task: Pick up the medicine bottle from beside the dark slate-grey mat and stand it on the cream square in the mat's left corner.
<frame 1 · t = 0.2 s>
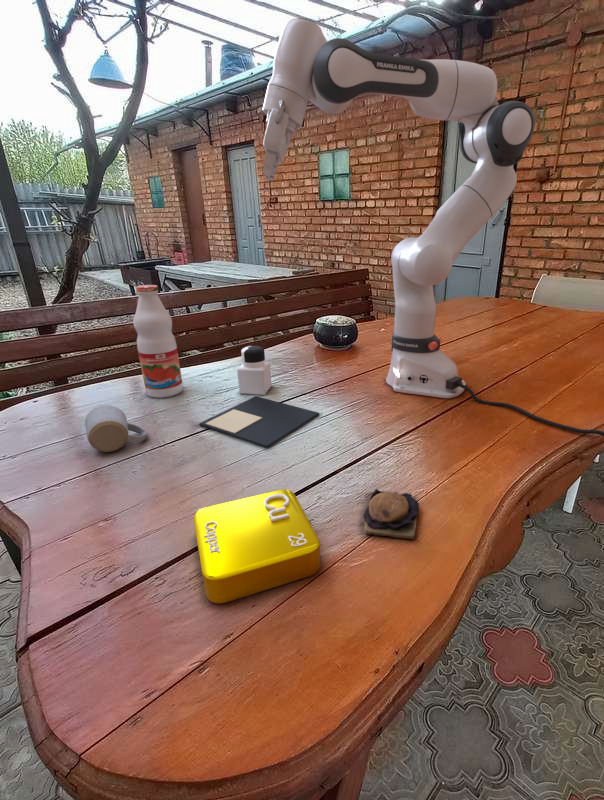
hand: (267, 178, 97), 52 cm above the table, tool tilted 20°, fingers open, 8 cm apart
mat: (260, 420, 99), on the table
fruit juice: (165, 392, 115), on the table
ceramic mug: (118, 444, 89), on the table
element tile: (256, 552, 60), on the table
brown layered stack: (391, 516, 67), on the table
medicine bottle: (256, 390, 117), on the table
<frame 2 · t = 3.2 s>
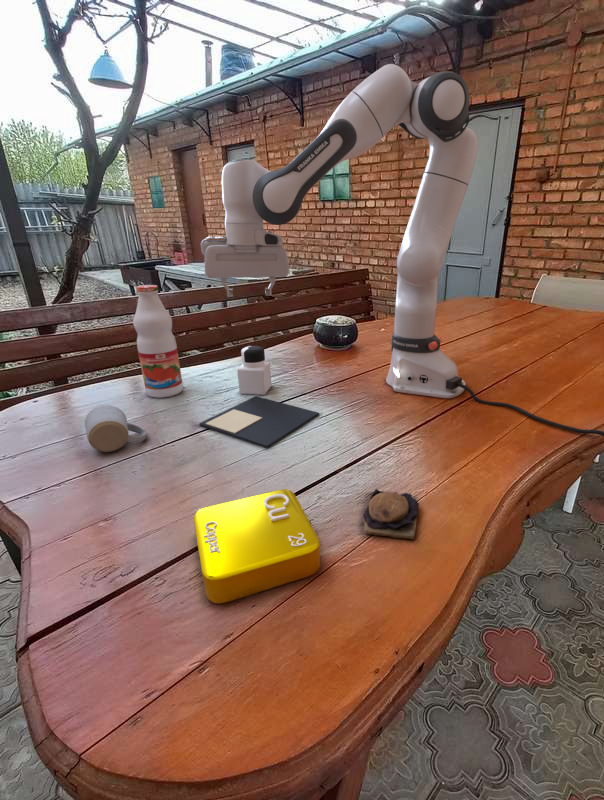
hand: (249, 295, 107), 25 cm above the table, tool pointing down, fingers open, 8 cm apart
nothing on the table moved.
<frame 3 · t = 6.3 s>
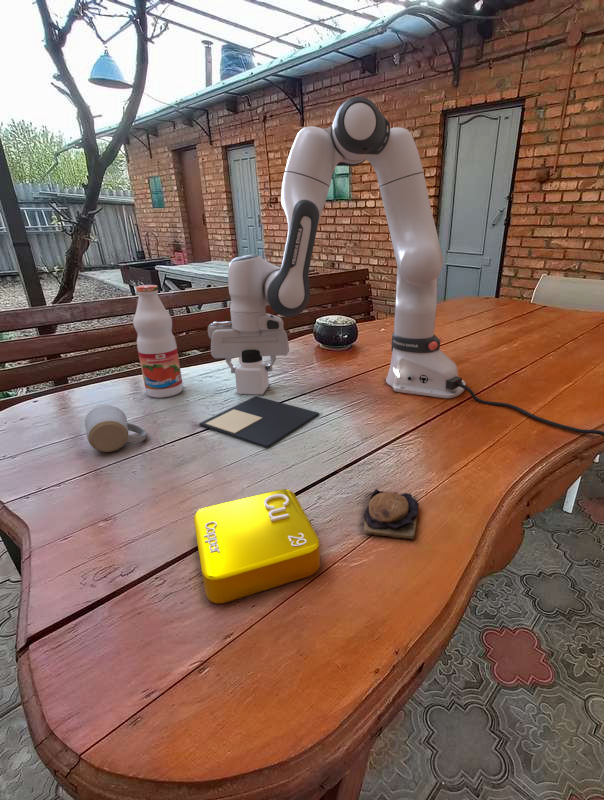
hand: (252, 371, 115), 5 cm above the table, tool pointing down, fingers closed on medicine bottle, 8 cm apart
medicine bottle: (253, 390, 117), on the table, touching gripper
everything else where it was.
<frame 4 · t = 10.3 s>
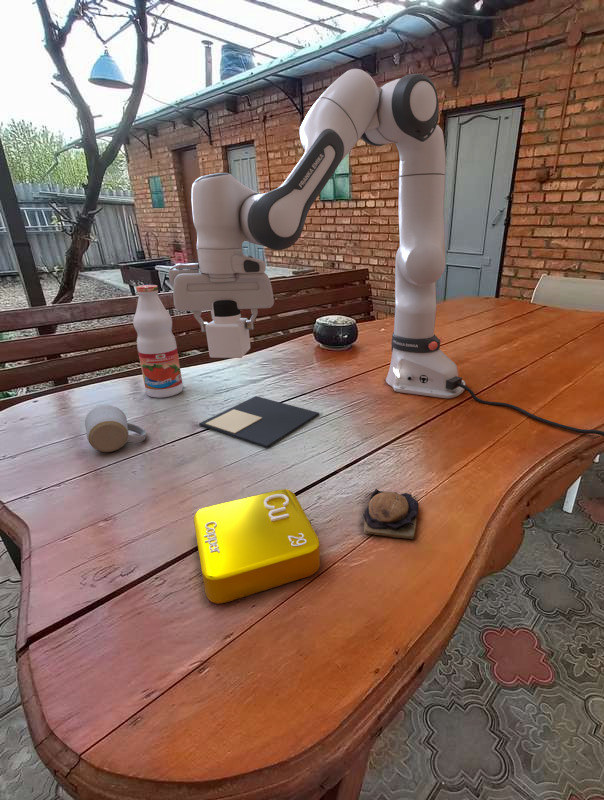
hand: (228, 330, 92), 21 cm above the table, tool pointing down, fingers closed on medicine bottle, 8 cm apart
medicine bottle: (230, 354, 94), point 16 cm above the table, touching gripper
everything else where it was.
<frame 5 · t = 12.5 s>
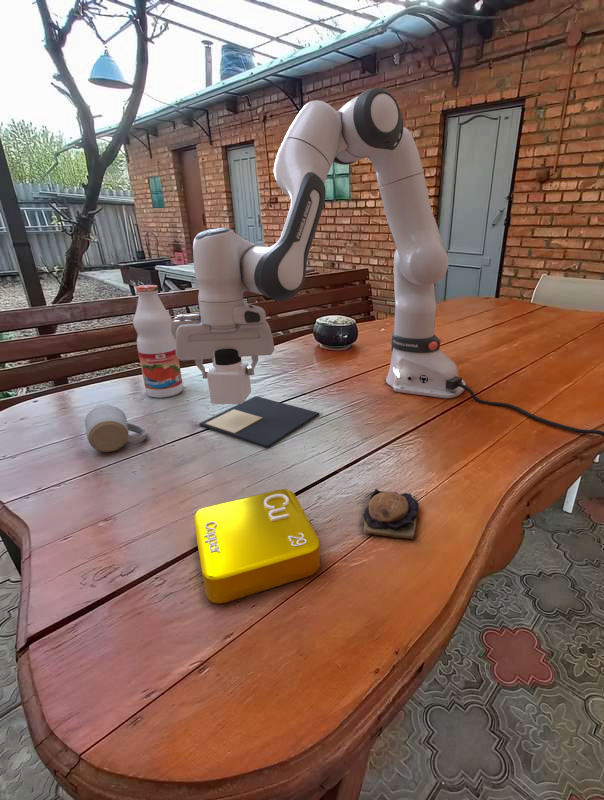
hand: (229, 376, 93), 12 cm above the table, tool pointing down, fingers closed on medicine bottle, 8 cm apart
medicine bottle: (231, 398, 95), point 6 cm above the table, touching gripper
everything else where it was.
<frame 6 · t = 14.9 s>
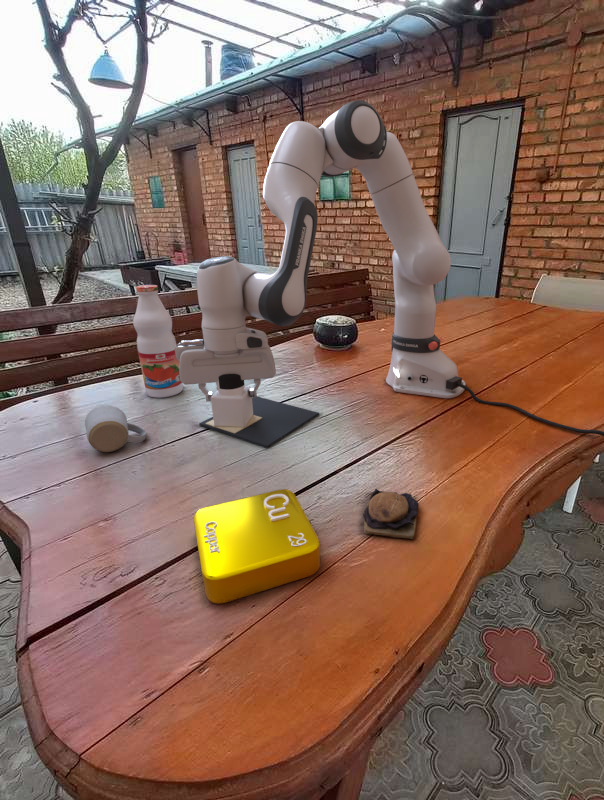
hand: (231, 398, 95), 6 cm above the table, tool pointing down, fingers closed on medicine bottle, 8 cm apart
medicine bottle: (234, 420, 97), point 1 cm above the table, touching gripper, mat
everything else where it was.
when the fingers open (6 cm above the table, at t = 14.9 s): medicine bottle stays where it is, resting on mat.
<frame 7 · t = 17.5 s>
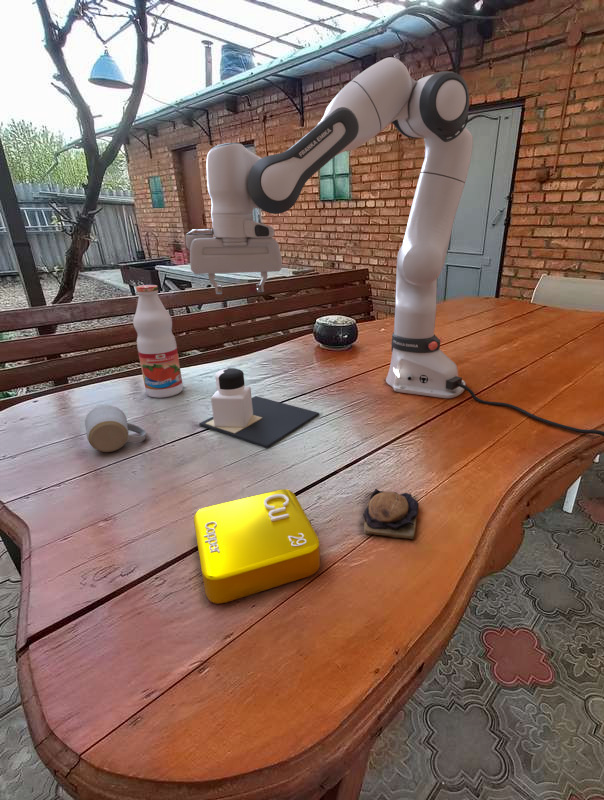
hand: (240, 292, 99), 27 cm above the table, tool pointing down, fingers open, 8 cm apart
medicine bottle: (234, 421, 97), point 1 cm above the table, touching mat
everything else where it was.
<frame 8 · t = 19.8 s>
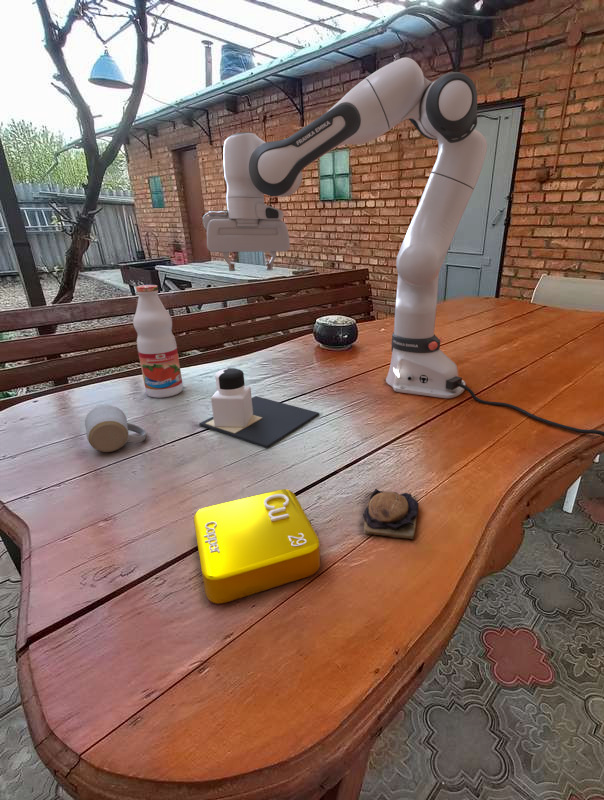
hand: (251, 270, 109), 31 cm above the table, tool pointing down, fingers open, 8 cm apart
nothing on the table moved.
at the end: medicine bottle inside the target area on the mat (0.0 cm from its centre), point 0.6 cm above the mat's base; medicine bottle tilted 0°; the gripper is holding nothing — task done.
